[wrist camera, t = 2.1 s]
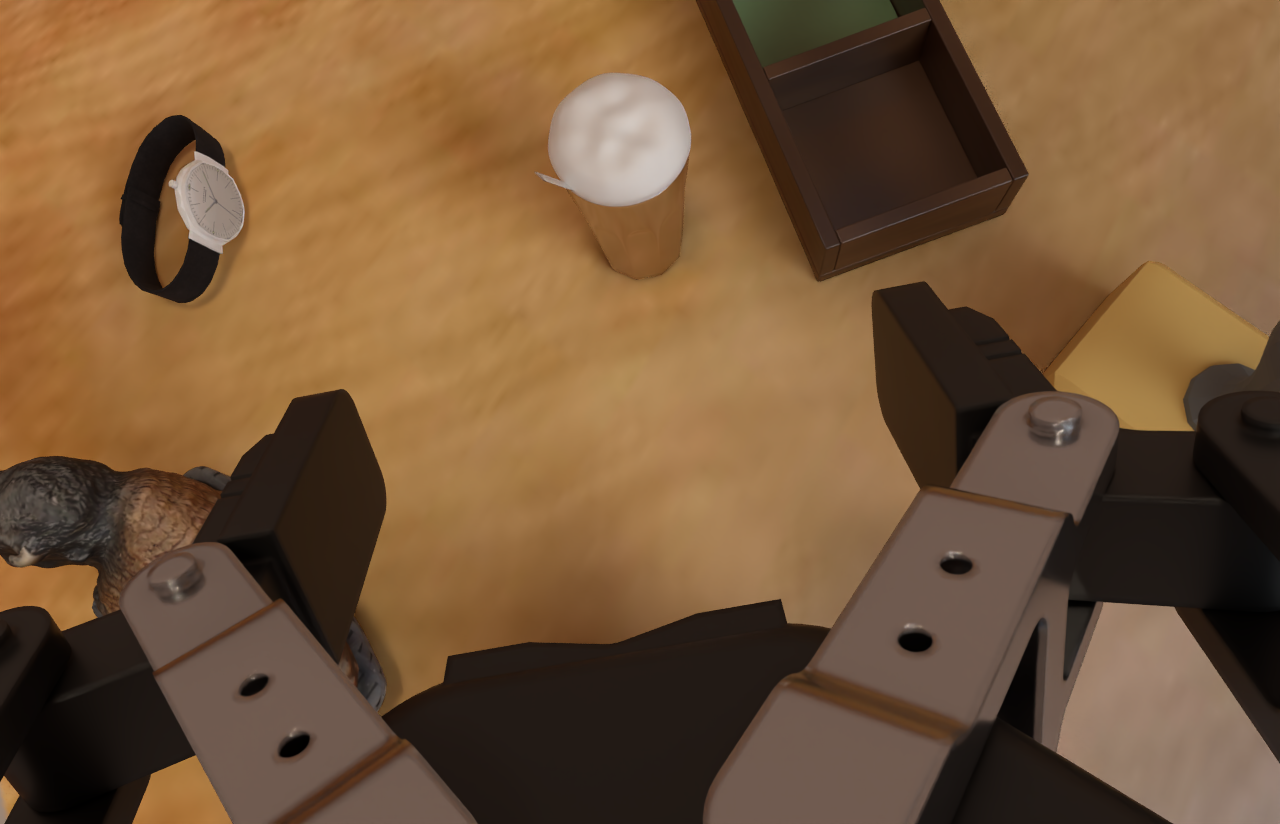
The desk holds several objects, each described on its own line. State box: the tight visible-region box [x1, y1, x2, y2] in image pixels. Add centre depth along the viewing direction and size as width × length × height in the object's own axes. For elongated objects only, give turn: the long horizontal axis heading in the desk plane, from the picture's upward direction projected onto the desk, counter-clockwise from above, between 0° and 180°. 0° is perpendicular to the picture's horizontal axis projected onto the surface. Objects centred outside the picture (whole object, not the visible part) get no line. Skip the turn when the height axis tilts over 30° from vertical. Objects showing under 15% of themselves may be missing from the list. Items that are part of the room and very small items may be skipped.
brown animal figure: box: [0, 456, 387, 712], centre depth 31 cm, size 12×7×10 cm, turn 47°
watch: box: [119, 115, 245, 303], centre depth 38 cm, size 8×5×4 cm, turn 3°
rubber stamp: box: [1043, 261, 1280, 431], centre depth 28 cm, size 10×6×12 cm, turn 49°
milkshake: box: [534, 73, 691, 280], centre depth 33 cm, size 4×5×10 cm
